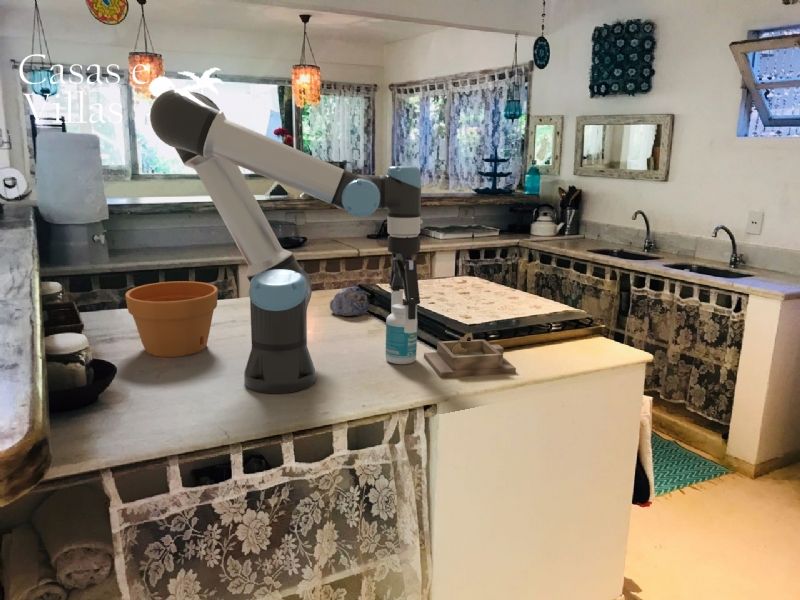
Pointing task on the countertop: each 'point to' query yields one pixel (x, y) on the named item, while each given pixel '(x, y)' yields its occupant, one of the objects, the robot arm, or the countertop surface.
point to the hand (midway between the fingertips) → (403, 324)
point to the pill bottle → (399, 338)
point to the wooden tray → (468, 359)
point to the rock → (350, 302)
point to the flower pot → (173, 316)
